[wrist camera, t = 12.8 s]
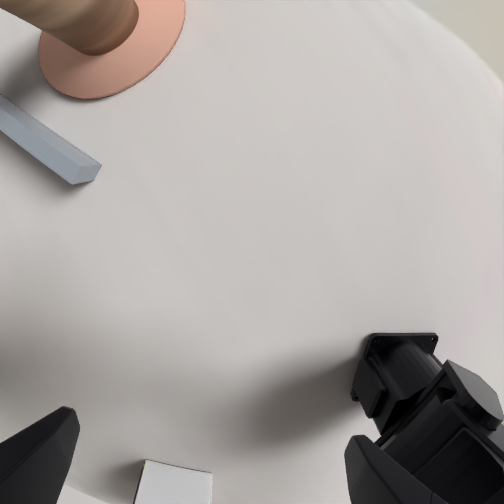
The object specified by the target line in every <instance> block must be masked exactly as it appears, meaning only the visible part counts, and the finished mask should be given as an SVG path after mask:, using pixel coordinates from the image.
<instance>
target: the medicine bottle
mask: <svg viewBox="0 0 504 504" xmlns="http://www.w3.org/2000/svg"><path fill="white" fill-rule="evenodd" d="M212 484H213V475H212V474H211V473H208V472H202V471H196V470H191V469H186V468H181V467H176V466H171V465H167V464H163V463H158V462H154V461H150V460H145V461H144V464H143V468H142V471H141V475H140V479H139V483H138V486H137V490H136V494H135V498H134V502H133V504H211V499H212Z"/></svg>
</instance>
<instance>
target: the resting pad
mask: <svg viewBox="0 0 504 504" xmlns="http://www.w3.org/2000/svg"><path fill="white" fill-rule="evenodd" d="M134 1H135V2H136V4H137V6H138V9H139V18H138V22H137V25H136V27H135V29H134V31H133V32H132V34H131V35H130V36H129V38H128V39H127V40H126V41H125V42H124V43H123V44H121V45H120V46H119V47H117V48H116V49H114V50H112V51H110V52H108V53H106V54H102V55H97V56H89V55H85V54H83V53H81V52H79V51H77V50H76V49H74V48H72V47H71V46H69V45H67V44H66V43H64V42H62V41H60V40H59V39H57V38H55V37H53V36H52V35H50V34H48V33H46V32H45V31H42V34H41V37H40V43H39V63H40V67H41V70H42V73H43V75H44V77H45V78H46V80H47V81H48V82H49V84H50V85H51V86H52V87H54V88H55V89H56V90H58V91H59V92H61V93H63V94H66V95H69V96H72V97H76V98H82V99H96V98H102V97H107V96H110V95H114V94H116V93H119V92H121V91H124V90H126V89H128V88H130V87H131V86H133V85H135V84H136V83H138V82H139V81H141V80H143V79H144V78H145V77H146V76H148V75H149V74H150V73H151V72H153V71H154V70H155V69H156V68H157V67H158V66H159V65H160V64H161V63H162V61H163V60H164V59H165V58H166V57H167V56H168V54H169V53H170V51H171V50H172V48H173V47H174V45H175V43H176V42H177V40H178V38H179V35H180V33H181V30H182V27H183V23H184V19H185V2H184V0H134Z"/></svg>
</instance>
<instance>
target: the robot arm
mask: <svg viewBox="0 0 504 504" xmlns="http://www.w3.org/2000/svg"><path fill="white" fill-rule="evenodd" d="M375 339H377V341H375V342H374V340H375ZM432 339H433V340H432ZM437 342H438V336H437V335H436V334H435V333H375V334H373V335H371V336H370V338H369V341H368V344H367V347H366V350H365V354H364V357H363V359H362V360H361V361H360V364H359V367H358V370H357V373H356V376H355V379H354V382H353V389H352V392H351V399H352V401H355V402H356V401H360V403H361V405H362V407H363V409H364V411H365V414H366V416H367V417H368V418H369V419H370V418H373V420H374V422H375V424H376V426H377V429H378V431H379V433H380V435H381V437H380V438H379V439H378V440H377V441H376V442H374V443H373V442H372V441H371V440H370V439H369V438H368V437H367V436H365V435H354V436H352V437H351V439H350V441H349V443H348V445H347V447H346V450H345V453H344V458H345V465H346V473H347V482H348V490H349V495H350V500H351V504H504V426H503V425H502V424H501V422H502V421H503V420H504V415H503V411H502V408H501V405H500V402H499V399H498V396H497V393H496V392H495V391H494V390H493V389H492V388H491V387H490V386H489V385H488V384H487V383H486V382H485V381H484V380H483V379H482V378H481V377H480V376H478V375H477V374H475V373H473V372H471V371H469V370H467V369H465V368H463V367H461V366H459V365H458V364H456V363H454V362H452V361H450V360H448V359H447V360H446V362H445V363H444V364H442V363H441V362H440V361H439V360H438V359H437V358H436V356H435V355H434V354H433V352H434V350H435V347H436V344H437ZM356 395H357V396H356ZM79 432H80V424H79V421H78V418H77V415H76V412H75V410H74V409H72V408H69V407H66V406H62V407H60V408H59V409H57V410H55V411H54V412H52V413H50V414H49V415H47V416H45V417H44V418H42V419H40V420H39V421H37V422H35V423H34V424H32V425H30V426H29V427H27V428H25V429H24V430H22V431H20V432H19V433H17V434H15V435H13V436H12V437H10V438H8V439H7V440H5V441H3V442H1V443H0V504H56V503H57V500H58V497H59V495H60V492H61V489H62V487H63V484H64V481H65V479H66V476H67V474H68V471H69V468H70V465H71V462H72V458H73V454H74V450H75V446H76V443H77V439H78V436H79Z"/></svg>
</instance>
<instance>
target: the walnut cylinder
mask: <svg viewBox="0 0 504 504" xmlns="http://www.w3.org/2000/svg"><path fill="white" fill-rule="evenodd" d="M0 8H1V9H3V10H5V11H7V12H9V13H11V14H13V15H15V16H17V17H19V18H21V19H23V20H25V21H26V22H28V23H30V24H32V25H34V26H36V27H37V28H39V29H41V30H43V31H45V32H46V33H48V34H50V35H52V36H53V37H55V38H57V39H59V40H60V41H62V42H64V43H66V44H67V45H69V46H71V47H72V48H74V49H76V50H77V51H79V52H81V53H83V54H85V55H89V56H97V55H102V54H106V53H108V52H110V51H112V50H114V49H116V48H117V47H119V46H120V45H121V44H123V43H124V42H125V41H126V40H127V39H128V38H129V36H130V35H131V34H132V32H133V31H134V29H135V27H136V25H137V22H138V18H139V9H138V6H137V4H136V2H135V1H134V0H0Z"/></svg>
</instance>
